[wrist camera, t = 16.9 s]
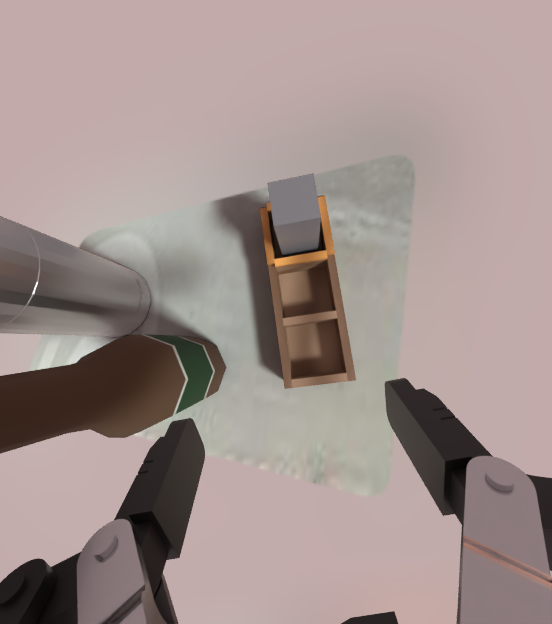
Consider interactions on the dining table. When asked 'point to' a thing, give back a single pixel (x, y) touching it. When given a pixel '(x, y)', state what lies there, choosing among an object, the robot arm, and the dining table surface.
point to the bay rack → (308, 309)
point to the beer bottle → (109, 389)
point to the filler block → (295, 214)
